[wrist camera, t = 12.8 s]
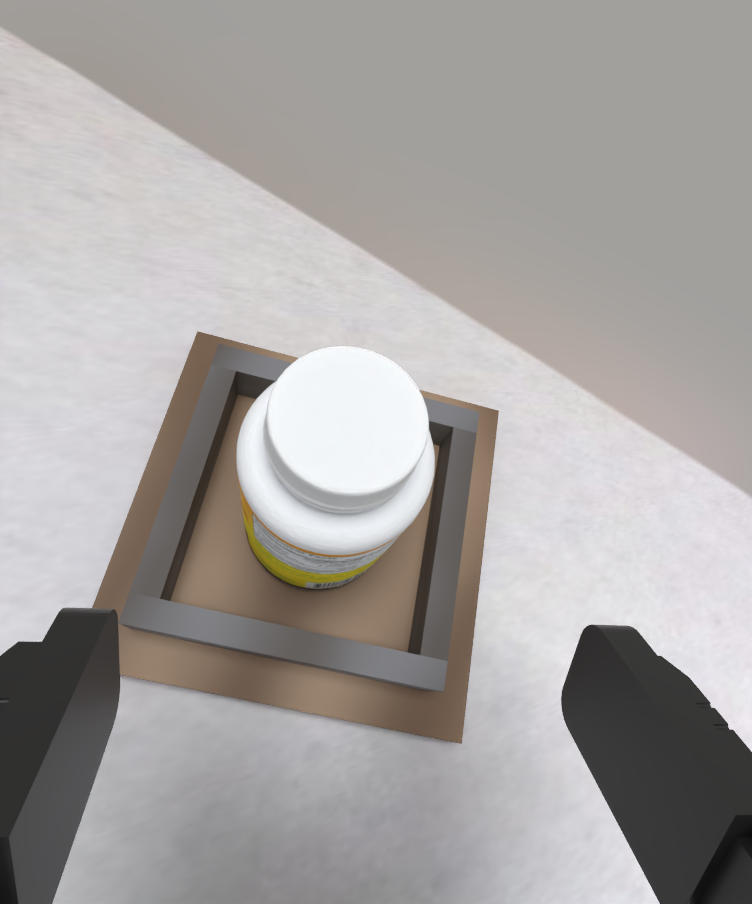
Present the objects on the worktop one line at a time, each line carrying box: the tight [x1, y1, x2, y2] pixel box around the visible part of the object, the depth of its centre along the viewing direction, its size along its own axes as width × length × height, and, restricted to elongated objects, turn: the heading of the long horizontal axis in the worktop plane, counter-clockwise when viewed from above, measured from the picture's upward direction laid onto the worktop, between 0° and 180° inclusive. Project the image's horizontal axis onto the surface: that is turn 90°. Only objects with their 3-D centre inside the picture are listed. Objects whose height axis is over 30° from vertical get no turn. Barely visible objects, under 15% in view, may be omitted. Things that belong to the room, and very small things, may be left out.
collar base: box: [92, 332, 499, 744], centre depth 23 cm, size 14×14×3 cm
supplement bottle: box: [236, 346, 435, 591], centre depth 18 cm, size 6×6×10 cm
